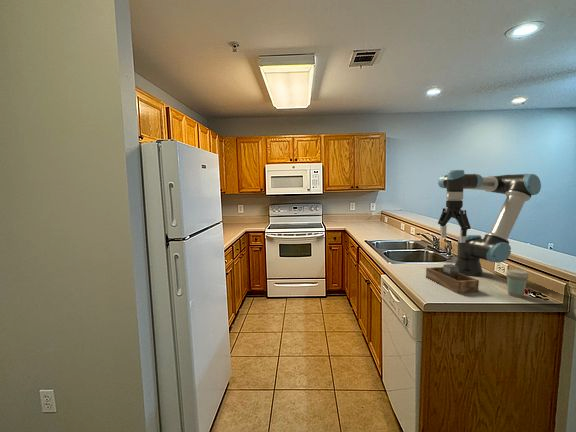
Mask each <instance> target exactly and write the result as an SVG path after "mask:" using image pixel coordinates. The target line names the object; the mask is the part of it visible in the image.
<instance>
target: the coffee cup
mask: <svg viewBox="0 0 576 432" xmlns="http://www.w3.org/2000/svg"><path fill="white" fill-rule="evenodd" d="M505 274H506V281H507V282H506V283H507V284H506V285H507V286H506V287H507V294H508V295H509V296H511V297H515V298H523V297H524V295H525V291H526V287H527V284H528V283H527V282H528V278H530V276H529V273H528V271H526V270H523V269H518V268H508V269H507V270H506V273H505Z"/></svg>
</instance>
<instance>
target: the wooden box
mask: <svg viewBox="0 0 576 432" xmlns="http://www.w3.org/2000/svg"><path fill="white" fill-rule="evenodd" d="M443 267H444V266H436V267H426V268H425V270H426V271H425V278H426V279H427V278H428V279H427V280H429V279H430V280H429V281H431V280H432V282H433V281H434V282H433V283H435V282H436V283H435V284H437V285H440V286H442V287H443V288H446V289H447V290H450V291H452V292H454V293H455V294H457V295H459V294H470V293H471V294H472V293H479V285H480V284H479V283H480V280H479V279H476V278H473V277H471V276H470V275H464V274H461V273H459V272H458V280H455V279H453V278H451V277H448V276H446V275H444V274H443Z"/></svg>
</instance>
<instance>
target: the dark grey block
mask: <svg viewBox="0 0 576 432" xmlns="http://www.w3.org/2000/svg"><path fill="white" fill-rule="evenodd" d="M442 267H443V274H444V275H446V276H448V277H451V278H453V279H455V280H458V272H459V267H458V266H455V264H453V263H450V264H448V263H447V264H443V266H442Z"/></svg>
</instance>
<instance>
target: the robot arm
mask: <svg viewBox="0 0 576 432" xmlns="http://www.w3.org/2000/svg"><path fill="white" fill-rule="evenodd" d="M437 182H438V183H437V184H438V187H439V188H440V189H446V201H445V208H442V212H441V215H440V217H439V219H438V221H437V225H439V226H440V238H441V239H446V238H447V227H448V222H449V221H450V220H451V219H454V220H456V222H457V224H458V225H459V227H460V229H459V236H458V240H457V250H456V251H457V253H456V254H457V255H456V257H457V258H456V260H455V263H454V265H455V266H458V267H459V273H461V274H464V275H466V276H469V277H471V276H473V277H474V276H475V277H476V276H477V277H478V276H482V275H483V273H484V272H483V270H484V269H482V264H481V261H480V260H484V261H488V262H491V263H497V264H499V263H500V264H501V263H503V262H505V261H507V259H509V257H510V256H511V253H512V251H511V250H512V248H511V245H510V241H509V237H510V234H511V232H512V230H513V228H514V226H515V224H516V222H517V219H518V217H519V215H520V213H521V211H522V209H523V207H524V205H525V202H528V201H530V199H531V198H532V196H535V195H539V193H540V192H541V188H542V182H541V179H540V177H539V176H538V175H537V174H535V173H523V174H521V173H519V174H517V173H516V174H502V175H490V176H486V177H485V176H484V177H483V176H482V175H481V174H478V173H465V170H463V169H456V170H455V169H452V170H448V171H447V174H445V175H441V176H440V177H439V178H438V180H437ZM464 190H475V191H477V190H479V191H484V192H485V191H486V192H487V193H493V194H494V193H496V194H501V195H505V196H506V198H505V199H504V202H503V205H502V206H501V209H500V210H499V212H498V215H497V217H496V219H495V221H494V223H493V225H492V228H491V229H490V231H489V233H486V234H485V235H484V237H482V236H481V235H480V234H467V233H468V230H471V224H470V222H469V219H468V216H467V210H465V209H462V208H463V205H464V203H463V202H464V201H463V199H464Z"/></svg>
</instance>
